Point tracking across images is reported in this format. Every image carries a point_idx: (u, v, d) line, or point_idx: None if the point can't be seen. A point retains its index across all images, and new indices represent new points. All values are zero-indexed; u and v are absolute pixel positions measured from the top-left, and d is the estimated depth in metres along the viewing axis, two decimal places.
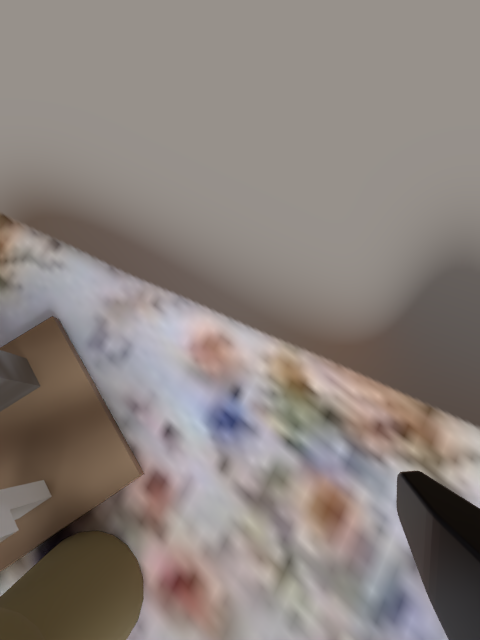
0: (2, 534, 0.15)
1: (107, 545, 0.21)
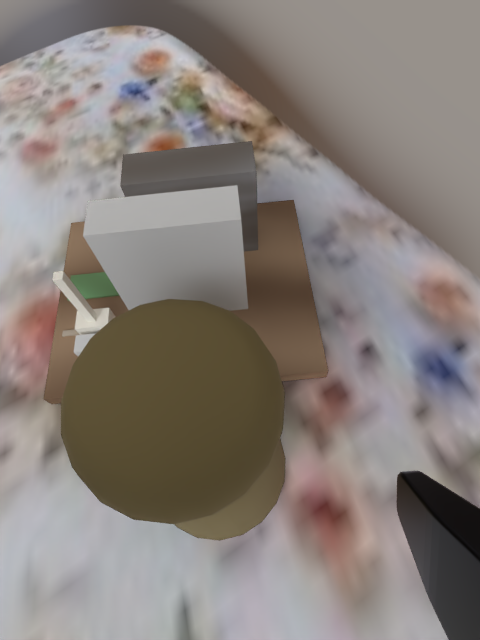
0: (246, 291, 0.13)
1: None
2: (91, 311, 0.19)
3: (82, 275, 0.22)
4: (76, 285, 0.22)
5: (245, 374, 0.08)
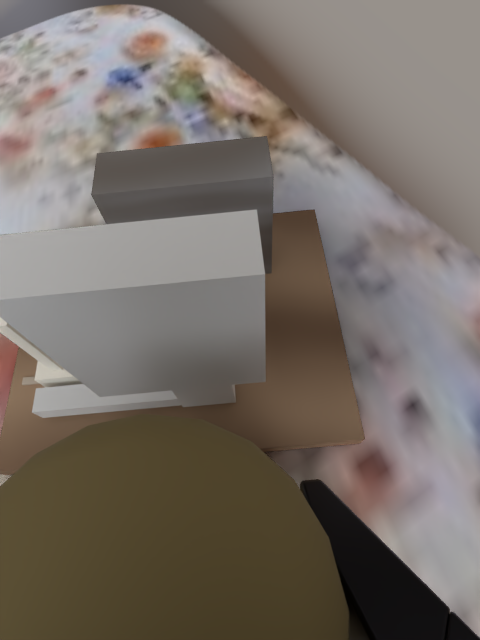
0: (265, 363, 0.09)
1: None
2: None
3: None
4: None
5: (282, 635, 0.04)
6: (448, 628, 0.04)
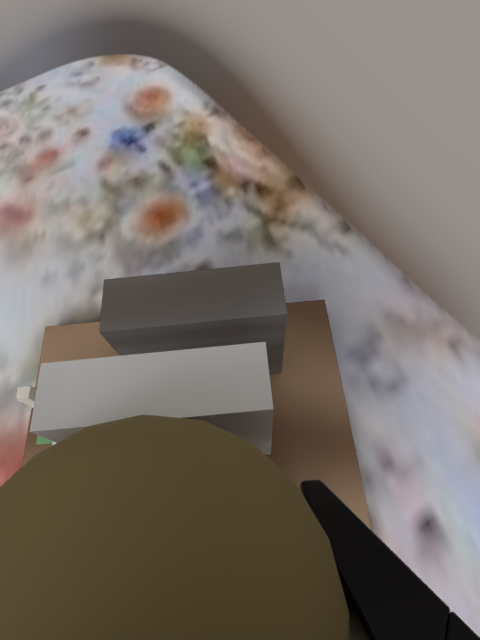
0: (270, 444, 0.10)
1: None
2: None
3: None
4: None
5: (282, 639, 0.04)
6: (448, 628, 0.04)
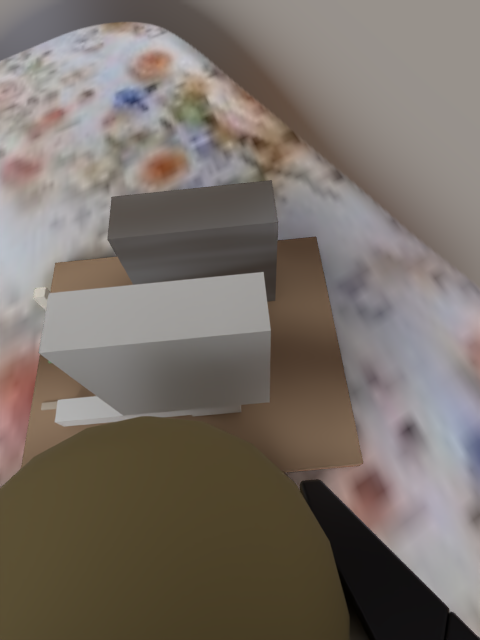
0: (269, 388, 0.10)
1: None
2: None
3: None
4: None
5: None
6: (447, 628, 0.04)
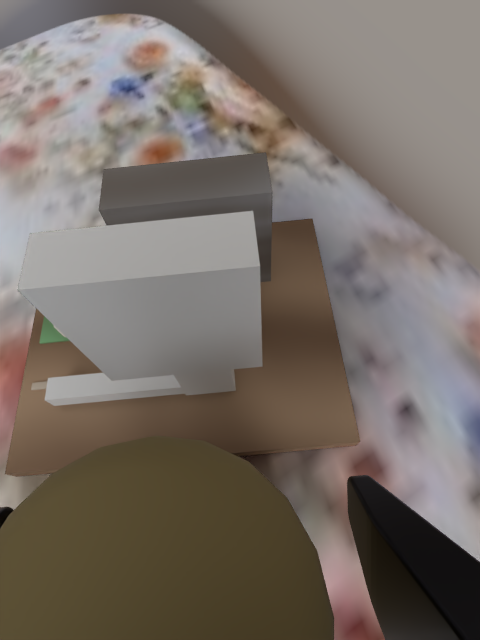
0: (261, 348, 0.10)
1: None
2: None
3: None
4: (51, 324, 0.18)
5: None
6: None
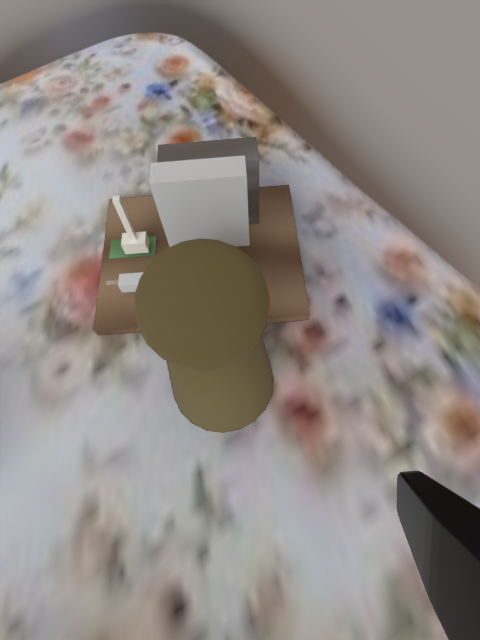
0: None
1: None
2: (133, 231, 0.26)
3: (120, 239, 0.28)
4: (115, 247, 0.28)
5: (246, 279, 0.14)
6: None
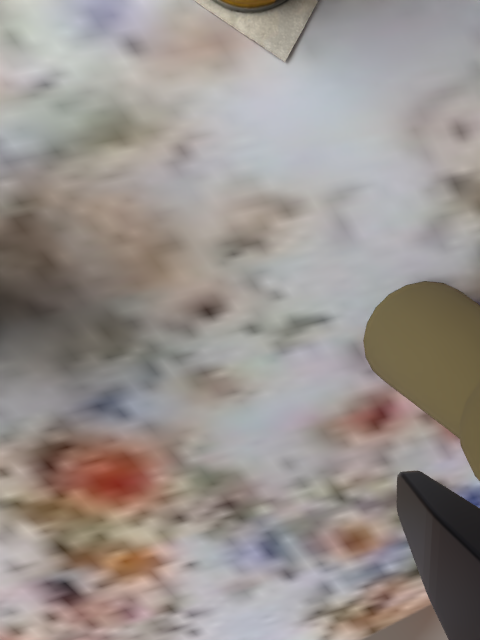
0: None
1: None
2: None
3: None
4: None
5: None
6: None
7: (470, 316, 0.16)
